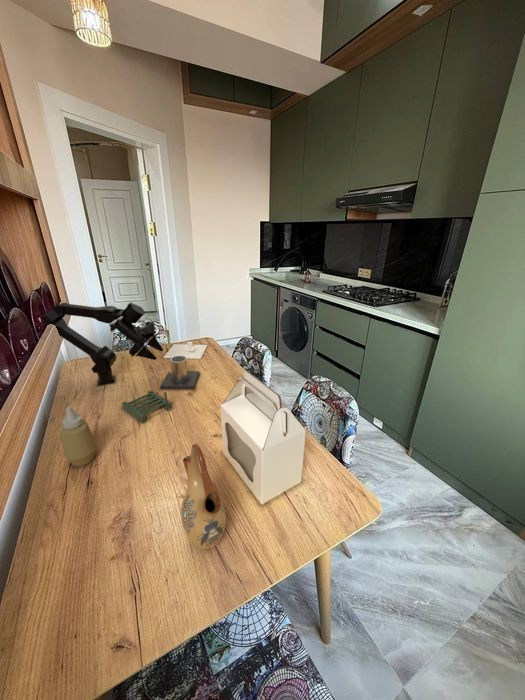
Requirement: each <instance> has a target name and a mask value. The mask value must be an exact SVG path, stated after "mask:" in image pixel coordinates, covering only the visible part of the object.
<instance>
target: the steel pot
mask: <svg viewBox="0 0 525 700" xmlns="http://www.w3.org/2000/svg"><path fill="white" fill-rule="evenodd" d="M169 360H170V366H171V371H172V376H173V379H174V380H176V381H182V380H185V379H187V378H188V371H189V370H188V362H187V361H188V358H186V357H185V356H175V357H172V358H169Z"/></svg>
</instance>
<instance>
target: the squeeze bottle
mask: <svg viewBox="0 0 525 700" xmlns="http://www.w3.org/2000/svg"><path fill="white" fill-rule="evenodd" d="M65 411H66V413H65V414H66V415H65V418H63V420H62V421H61V423H62V427H61V428H60V437H61V443H62V450H63V455H64V458H65V459H66V460H67V461H68V462H69V463H70V464H71V465H72V466H73V467H83V466H86V465H88V464H90V463H91V462H92V461H93V460H94V459H95V456H96V451H97V442H96V440H95V438H94V435H93V433H92V430H91V428H90V425H89V423H88V422H87V420H84V419H83V417H82V415H80V414H76V412H75V411H74V409H73V407H72V406H68V407H66V408H65Z"/></svg>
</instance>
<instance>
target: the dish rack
mask: <svg viewBox="0 0 525 700" xmlns="http://www.w3.org/2000/svg"><path fill="white" fill-rule="evenodd" d="M163 396H164V397H162V396H161V395H159V394H157V393H155V392H154V391H152V390H148V391H147V393H146V394H144V395H142V396H140V397H137V398H134V399H133V400H131V401H128V402H127V401H125V400H124V401H123V402H121V405H122V409H123V410H124V411H126V412H127V413H128V414H130V415H132V417H134V418H135V419H137V420H138V421H139V422H141V423H142V424H143V423H145V422H146V423H147V417H146V415H147V414H148V413H151V412H153V411H155V410H157V409H159V408H161V407H163V408H166V409H167V410H171V409H172V402H171V401H170V400H168V394H167V391H164V392H163Z"/></svg>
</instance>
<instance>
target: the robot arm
mask: <svg viewBox="0 0 525 700" xmlns="http://www.w3.org/2000/svg"><path fill="white" fill-rule="evenodd" d="M145 314H146V312H145V310H144V308H143V307H141V305H137V304H136V303H133V302H129V303H128V304H127V305H126V307H125V308H124V309H122V308H117V307H116V306H114V305H104V306H88V305H81V304H80V305H79V304H72V303H68V302H61V303H58V304H57V305H55V306H54V307H53V308H52V309H51V310H49V311H47V312H46V313H45V314H43V315H44V316H43V315H42V316H43V319H44V322H45V324H46V325H49V324H53V325H55V326H56V328H57V330H58V333H59V335H58V336H59V337H61V338H63V339H64V340H65V341H67V342H68V343H69V344H71V345H73V346H74V347H76V348H77V349H79V350H80V351H82V352H83V353H85V354H87V355H88V356H89V357H90V359H91V361H92V362H93V363H94V365H93V366H92V367H91V371H92V373H94V374H97V385H98V386H105V385H108V384H113V383H116V381H115V375H114V374H113V370H112V366H113V365H114V364H115V362H116V361H117V354H116V353H115V352H114V350H113V349H111V348H109V347H108V346H107V345H104V346H103V347H101V346H98V345H96V344H95V343H93V342H92V341H90V340H89V339H88V338H86V337H84V336H83V335H82V334H80V333H79V332H77V331H76V330H74V329H73V328H71V327H70V326H69V325H68V324H67V322H66V321H65V319H64V318H65V317H66V316H73V317H80V318H81V317H82V318H89V319H94V320H96V321H98V322H100V323H104V324H110V325H109V328H110V332H113V331H115V330H117V331H118V332H119V333H120V334H122V335H123V336H124V337H125V338H124V339H125V340H126V341H129V340H130V342H132V343H133V346H132V347H131V348H130V349H129V350H128V354H129V355H130V356H131V357H141V358H144V359H150V360H153V361H156V360H157V356H156V355H155V354H154V353H153V352H151V350H149V348H148V346H149V347H151V348H153V349H154V350H157V351H159V352H163V351H164V348H163V346H162V345H161V344H160V342H159V341H158V339H157V336H158V334H157V331H156V330H157V329H156V326H155V325H156V324H155V323H154V322H153V321H150V320H148V321H146V322H145V325H144V326H142V327H141V326H140V325H134V324H137V323H138V322H139V321H140V320H141V318H142V317H143V316H144V315H145ZM114 321H115V322H114Z"/></svg>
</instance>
